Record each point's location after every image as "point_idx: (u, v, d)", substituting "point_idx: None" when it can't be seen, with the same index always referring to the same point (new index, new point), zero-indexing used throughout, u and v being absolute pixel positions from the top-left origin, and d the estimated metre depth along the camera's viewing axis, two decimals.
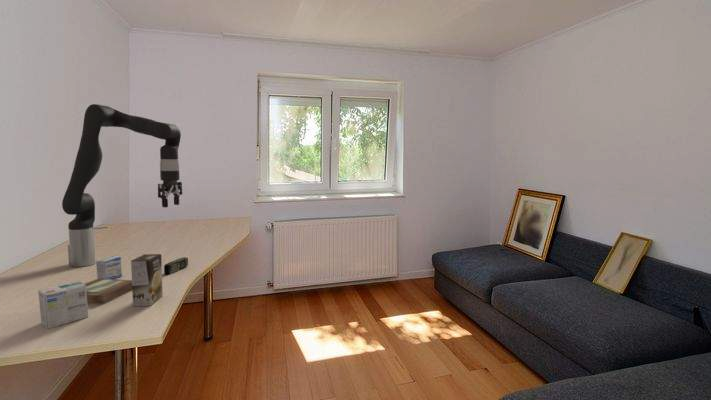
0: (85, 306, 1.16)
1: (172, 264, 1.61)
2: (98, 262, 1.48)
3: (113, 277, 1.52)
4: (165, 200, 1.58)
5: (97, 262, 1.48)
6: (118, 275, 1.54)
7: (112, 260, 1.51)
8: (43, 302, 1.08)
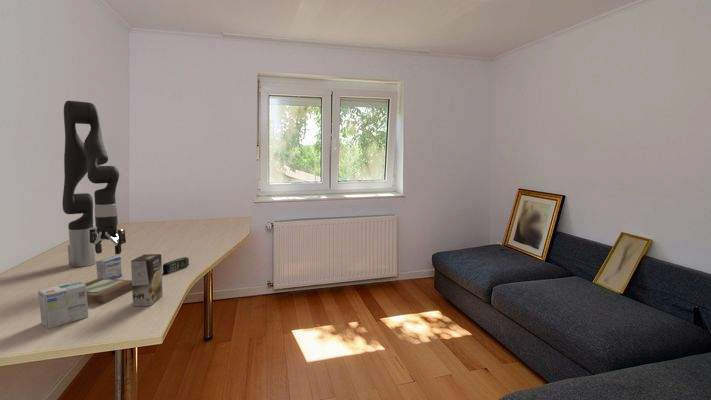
0: (85, 306, 1.16)
1: (171, 264, 1.62)
2: (98, 262, 1.48)
3: (113, 277, 1.52)
4: None
5: (97, 262, 1.48)
6: (118, 275, 1.54)
7: (112, 260, 1.51)
8: (43, 302, 1.08)
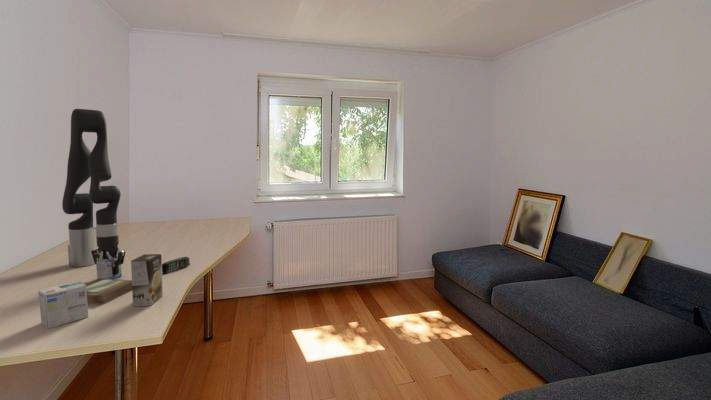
0: (85, 306, 1.16)
1: (170, 263, 1.62)
2: (98, 261, 1.48)
3: (113, 277, 1.52)
4: None
5: (97, 262, 1.48)
6: (118, 275, 1.54)
7: None
8: (43, 302, 1.08)
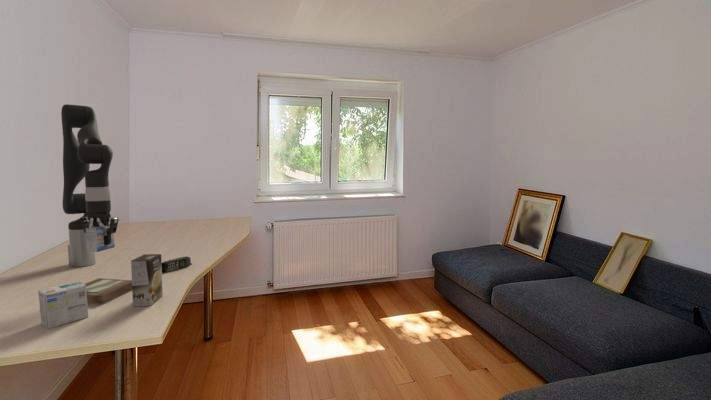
0: (85, 306, 1.16)
1: (169, 262, 1.64)
2: (87, 229, 1.32)
3: (105, 247, 1.36)
4: None
5: (86, 230, 1.32)
6: (110, 245, 1.38)
7: None
8: (43, 302, 1.08)
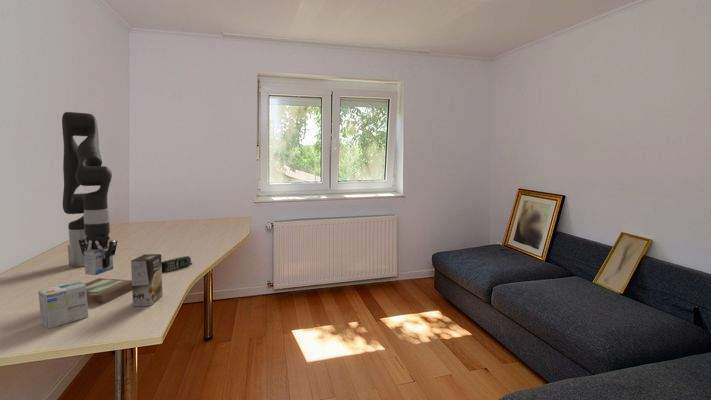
0: (85, 306, 1.16)
1: (169, 262, 1.64)
2: (86, 252, 1.30)
3: (103, 270, 1.34)
4: None
5: (85, 252, 1.30)
6: (109, 268, 1.36)
7: None
8: (43, 302, 1.08)
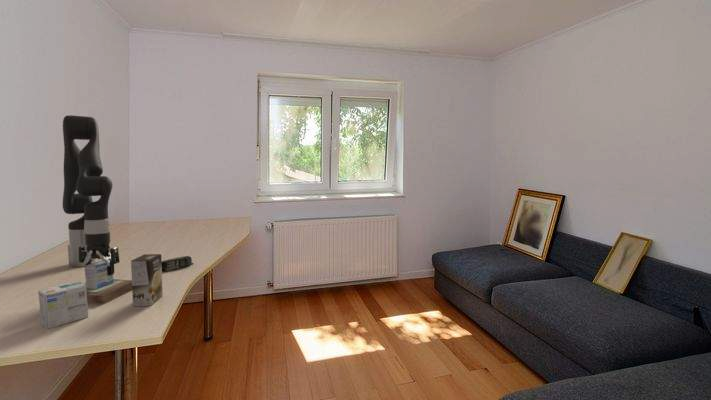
0: (85, 306, 1.16)
1: (169, 262, 1.65)
2: (87, 266, 1.31)
3: (104, 283, 1.35)
4: None
5: (86, 267, 1.31)
6: (109, 281, 1.37)
7: (103, 264, 1.34)
8: (43, 302, 1.08)
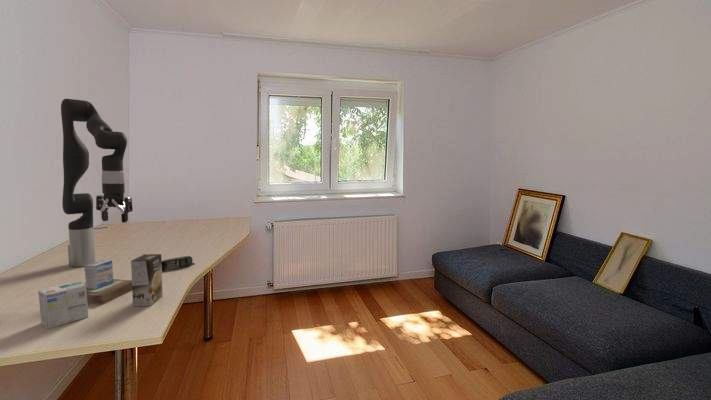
0: (85, 306, 1.16)
1: (168, 261, 1.65)
2: (87, 266, 1.31)
3: (104, 283, 1.35)
4: None
5: (86, 267, 1.31)
6: (109, 281, 1.37)
7: (103, 264, 1.34)
8: (43, 302, 1.08)
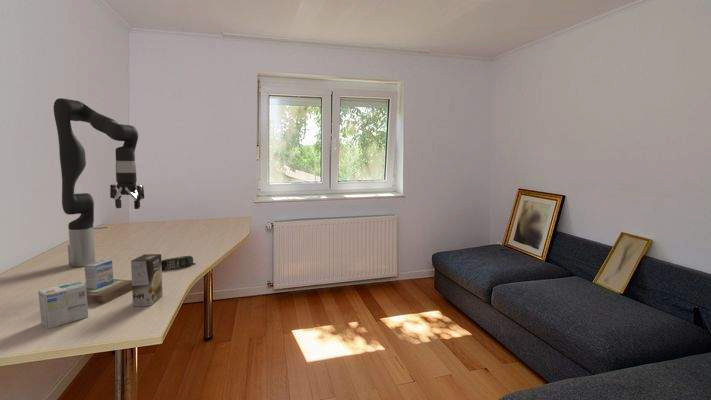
0: (85, 306, 1.16)
1: (169, 261, 1.66)
2: (87, 266, 1.31)
3: (104, 283, 1.35)
4: None
5: (86, 267, 1.31)
6: (109, 281, 1.37)
7: (103, 264, 1.34)
8: (43, 302, 1.08)
